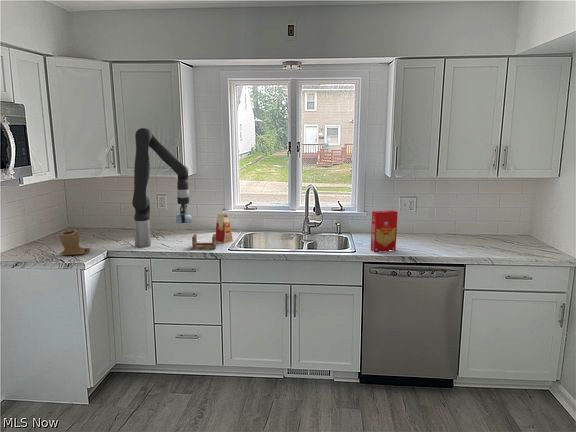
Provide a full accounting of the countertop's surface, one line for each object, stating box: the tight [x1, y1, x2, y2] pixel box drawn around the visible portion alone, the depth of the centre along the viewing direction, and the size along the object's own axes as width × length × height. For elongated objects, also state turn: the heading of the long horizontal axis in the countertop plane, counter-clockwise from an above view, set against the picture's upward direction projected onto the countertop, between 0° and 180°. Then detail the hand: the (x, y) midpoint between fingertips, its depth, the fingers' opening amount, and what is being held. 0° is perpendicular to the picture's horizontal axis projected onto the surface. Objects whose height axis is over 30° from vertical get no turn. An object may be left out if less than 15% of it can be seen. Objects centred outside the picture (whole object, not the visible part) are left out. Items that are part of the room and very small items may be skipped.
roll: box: [175, 214, 193, 224], centre depth 287 cm, size 10×6×6 cm, turn 95°
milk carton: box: [215, 212, 234, 245], centre depth 297 cm, size 9×9×20 cm
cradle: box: [191, 233, 217, 251], centre depth 281 cm, size 14×9×8 cm, turn 94°
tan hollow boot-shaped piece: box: [59, 229, 91, 256], centre depth 263 cm, size 15×12×15 cm
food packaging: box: [370, 210, 398, 253], centre depth 276 cm, size 15×5×25 cm, turn 106°
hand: (184, 221), depth 287 cm, fingers closed on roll, 5 cm apart
